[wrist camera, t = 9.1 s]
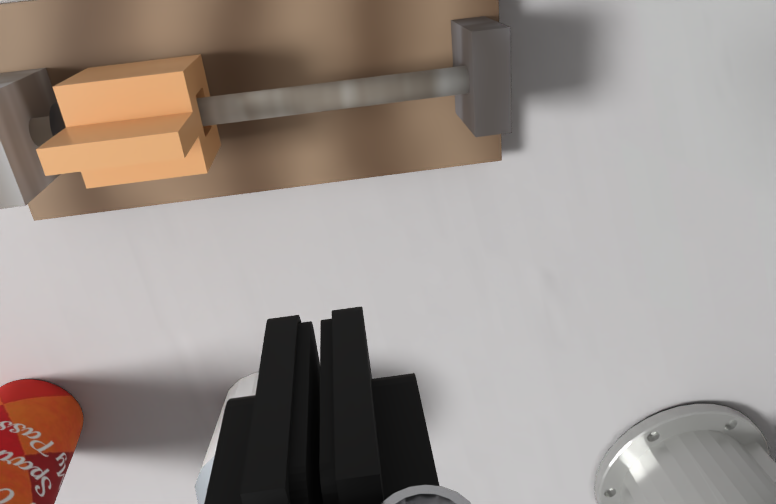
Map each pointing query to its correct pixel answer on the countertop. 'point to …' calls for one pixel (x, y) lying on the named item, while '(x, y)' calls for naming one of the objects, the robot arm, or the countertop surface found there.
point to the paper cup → (36, 440)
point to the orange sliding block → (132, 123)
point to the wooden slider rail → (265, 90)
